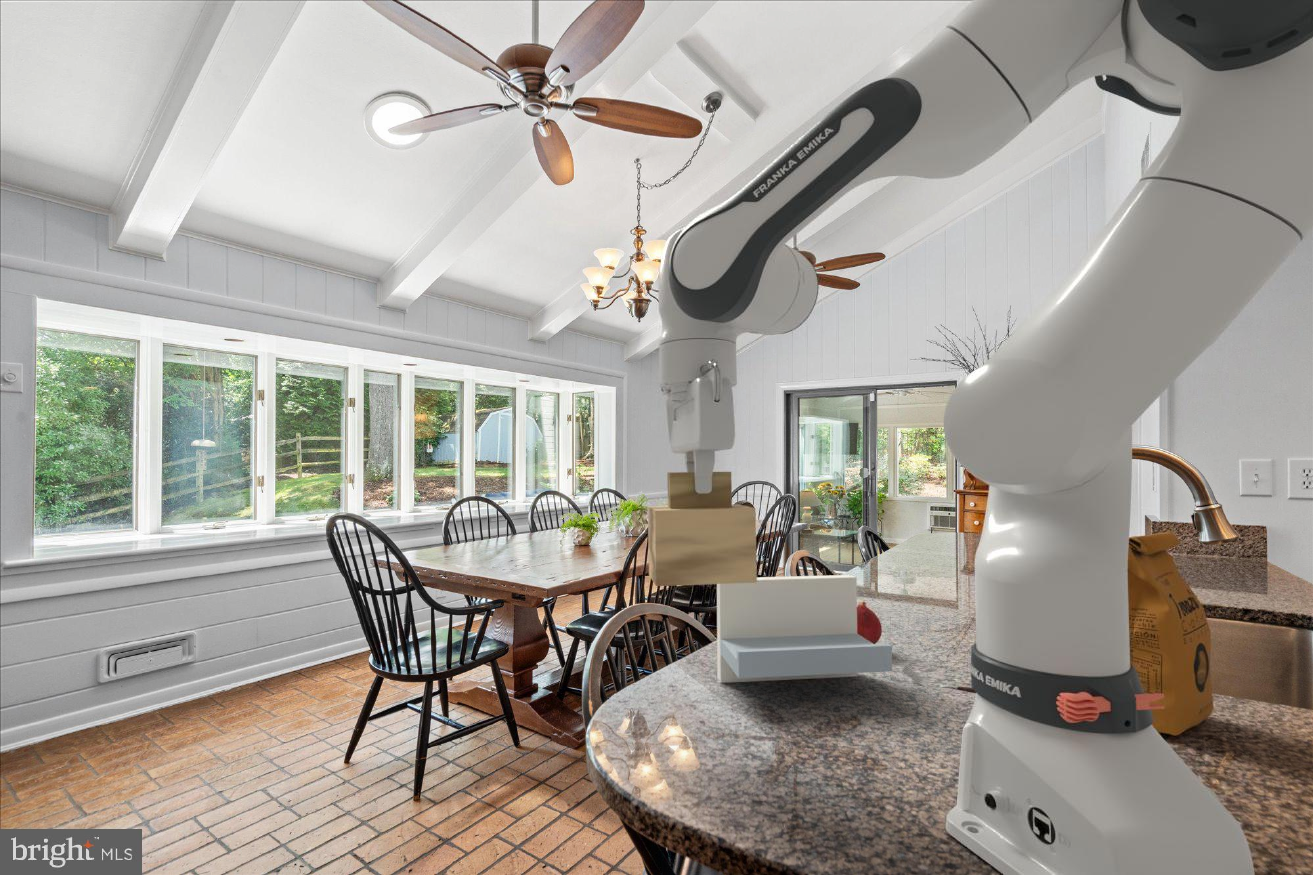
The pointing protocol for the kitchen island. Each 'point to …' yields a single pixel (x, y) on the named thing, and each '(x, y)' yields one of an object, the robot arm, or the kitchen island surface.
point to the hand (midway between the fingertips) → (699, 492)
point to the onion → (868, 623)
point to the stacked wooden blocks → (701, 535)
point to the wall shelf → (793, 630)
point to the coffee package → (1168, 635)
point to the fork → (925, 682)
